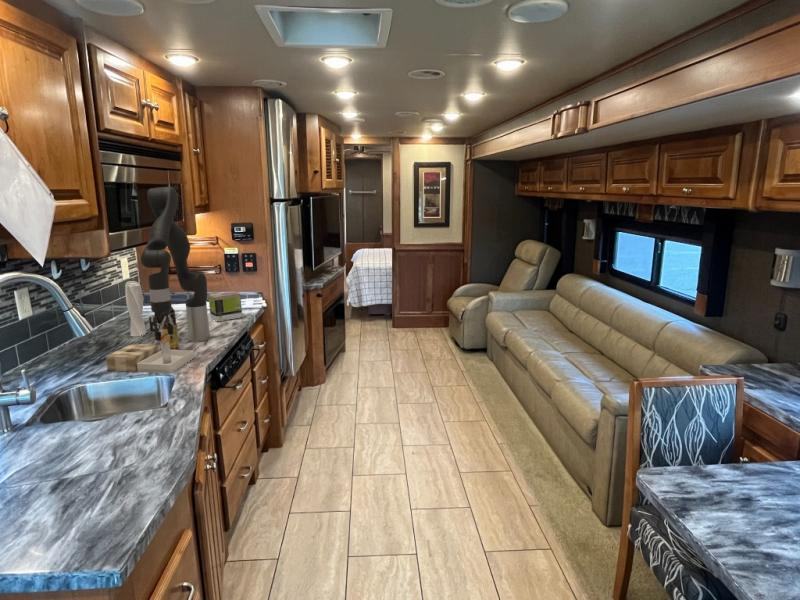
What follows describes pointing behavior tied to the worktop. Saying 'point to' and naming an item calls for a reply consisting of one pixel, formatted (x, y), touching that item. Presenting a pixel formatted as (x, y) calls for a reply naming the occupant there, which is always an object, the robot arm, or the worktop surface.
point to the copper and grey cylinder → (165, 349)
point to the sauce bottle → (172, 336)
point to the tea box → (225, 306)
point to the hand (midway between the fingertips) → (164, 337)
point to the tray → (157, 365)
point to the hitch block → (130, 357)
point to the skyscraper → (135, 308)
